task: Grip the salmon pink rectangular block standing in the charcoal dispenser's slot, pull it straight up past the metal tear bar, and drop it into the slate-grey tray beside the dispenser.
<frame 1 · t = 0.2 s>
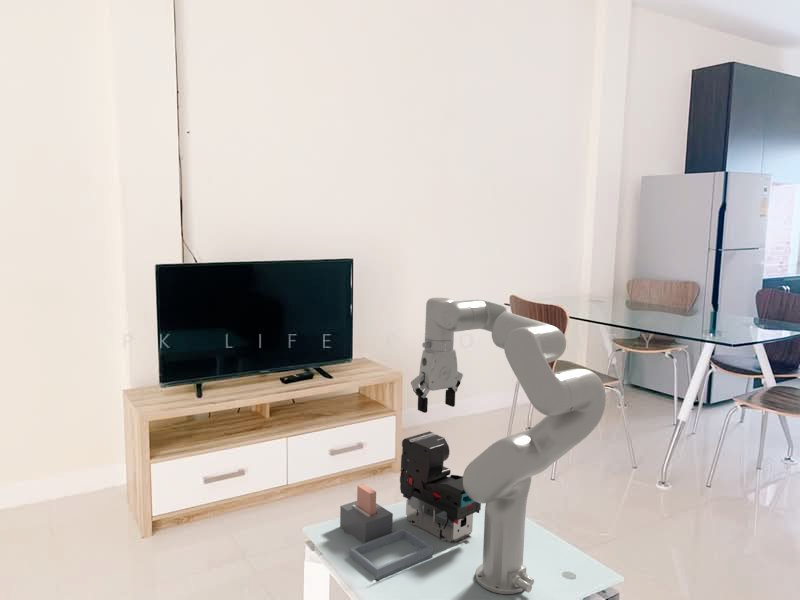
hand: (436, 408, 160), 36 cm above the table, tool pointing down, fingers open, 9 cm apart
tray: (391, 558, 153), on the table
salmon pink rectangular block: (365, 530, 165), point 1 cm above the table, touching dispenser
dispenser: (365, 534, 165), on the table
bill acceptor: (438, 530, 169), on the table
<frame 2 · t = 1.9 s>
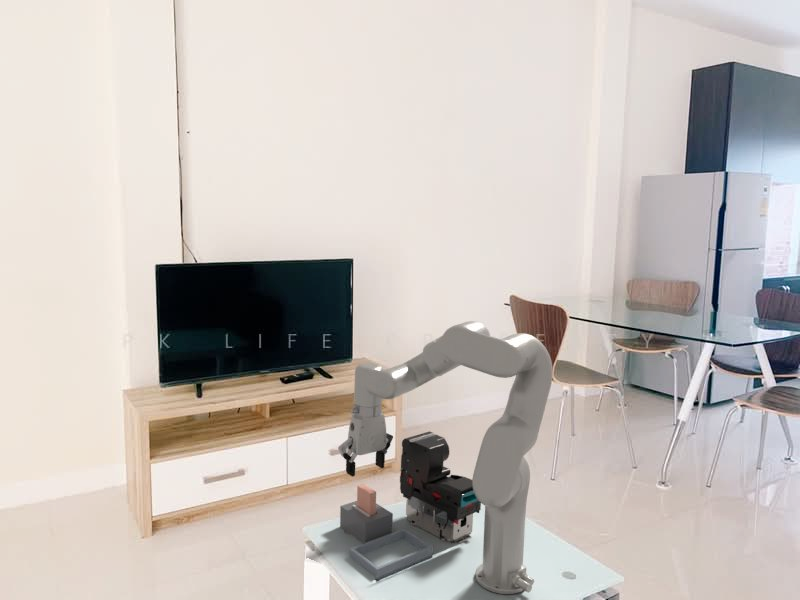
hand: (365, 470, 163), 18 cm above the table, tool pointing down, fingers open, 9 cm apart
nothing on the table moved.
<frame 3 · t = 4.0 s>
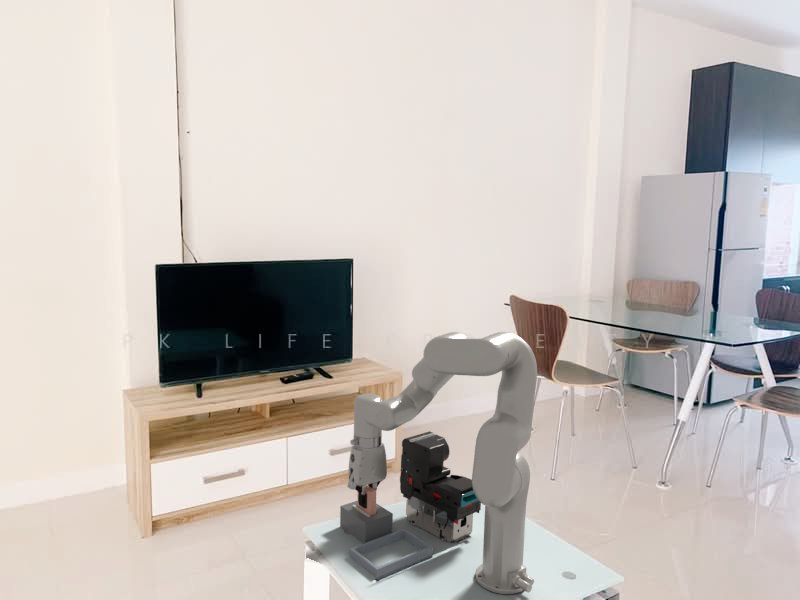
hand: (366, 504, 164), 8 cm above the table, tool pointing down, fingers closed on salmon pink rectangular block, 1 cm apart
salmon pink rectangular block: (366, 530, 165), point 1 cm above the table, touching gripper
everything else where it was.
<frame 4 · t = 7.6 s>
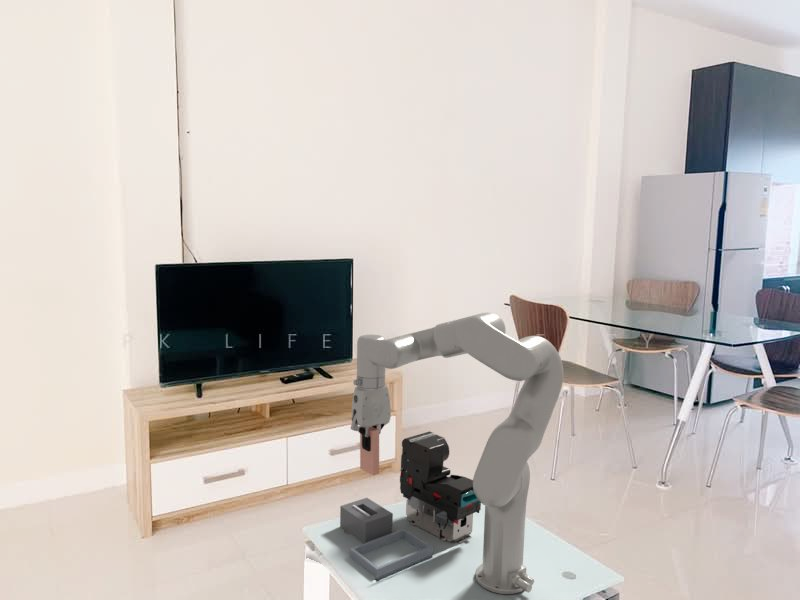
hand: (370, 448, 161), 25 cm above the table, tool pointing down, fingers closed on salmon pink rectangular block
salmon pink rectangular block: (369, 471, 162), point 18 cm above the table, touching gripper
everything else where it was.
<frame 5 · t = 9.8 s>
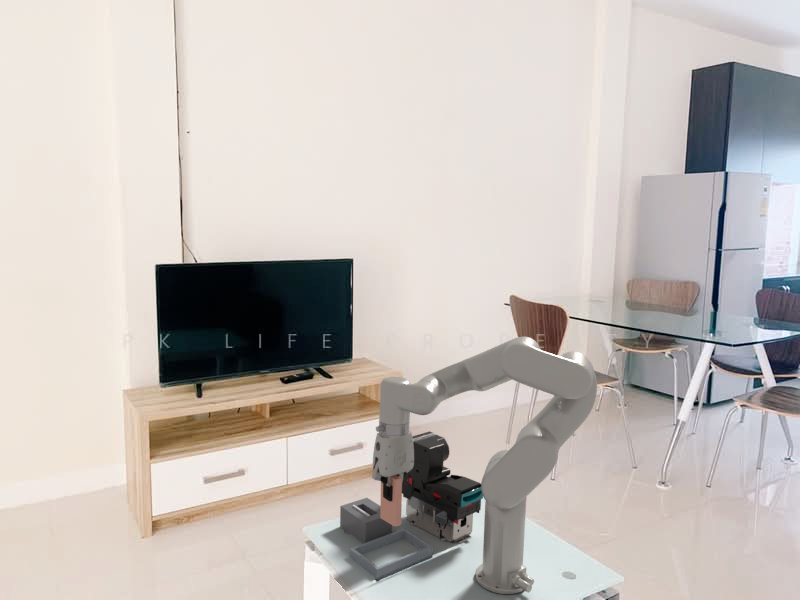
hand: (391, 497, 151), 16 cm above the table, tool pointing down, fingers closed on salmon pink rectangular block
salmon pink rectangular block: (390, 521, 152), point 10 cm above the table, touching gripper
everything else where it was.
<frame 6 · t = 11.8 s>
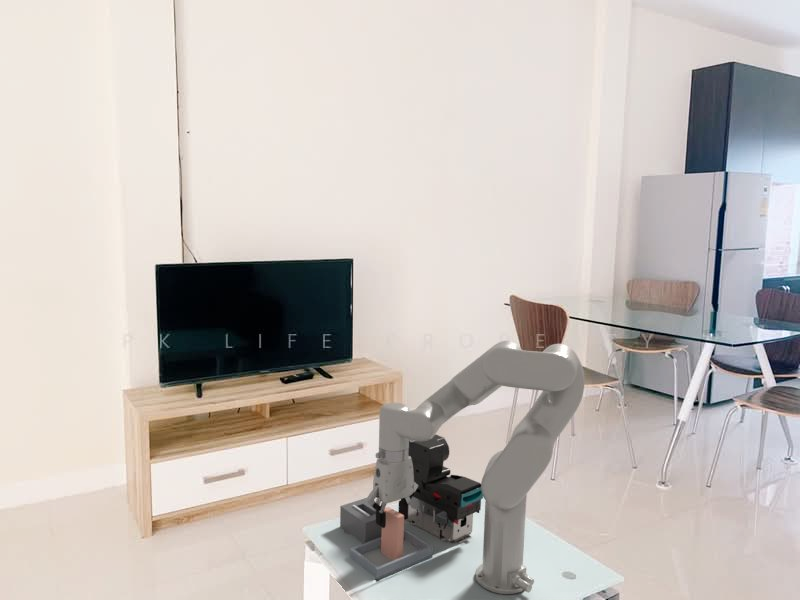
hand: (392, 520, 152), 10 cm above the table, tool pointing down, fingers open, 6 cm apart
salmon pink rectangular block: (391, 556, 153), point 1 cm above the table, touching tray
everything else where it was.
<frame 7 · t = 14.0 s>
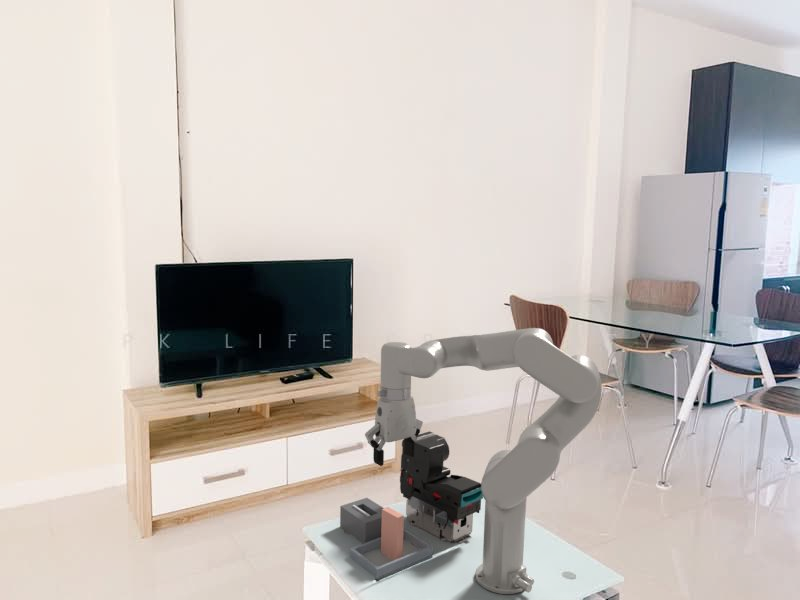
hand: (394, 459, 150), 26 cm above the table, tool pointing down, fingers open, 9 cm apart
nothing on the table moved.
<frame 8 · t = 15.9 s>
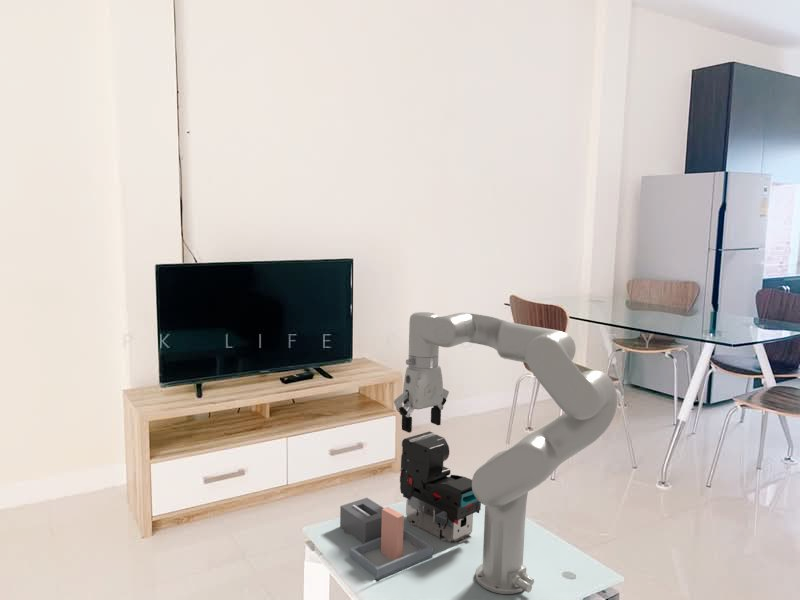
hand: (421, 427, 153), 33 cm above the table, tool pointing down, fingers open, 9 cm apart
nothing on the table moved.
at the end: salmon pink rectangular block inside the target area on the tray (0.2 cm from its centre), point 0.6 cm above the tray's base; the gripper is holding nothing; salmon pink rectangular block moved 14.4 cm from its start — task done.
